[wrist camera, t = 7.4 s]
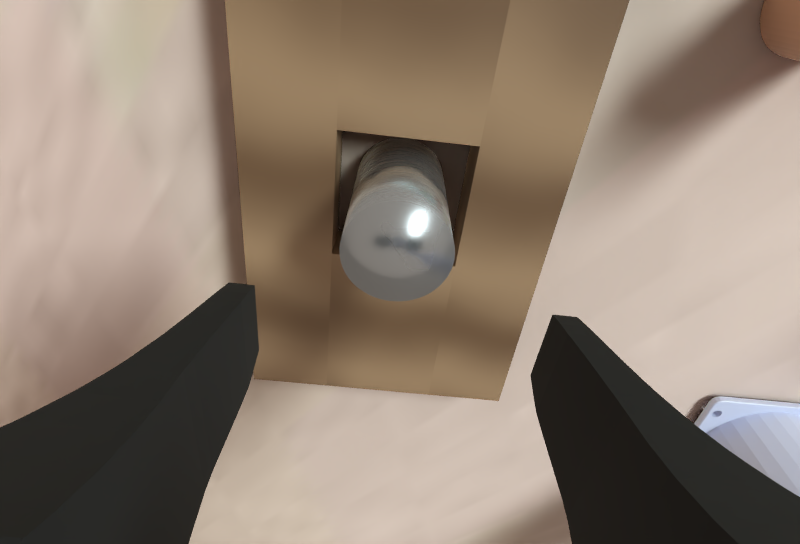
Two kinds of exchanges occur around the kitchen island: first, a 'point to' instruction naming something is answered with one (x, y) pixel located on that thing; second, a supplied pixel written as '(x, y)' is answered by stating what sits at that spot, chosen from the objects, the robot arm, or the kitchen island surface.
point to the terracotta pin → (781, 27)
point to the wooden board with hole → (417, 119)
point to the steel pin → (398, 223)
